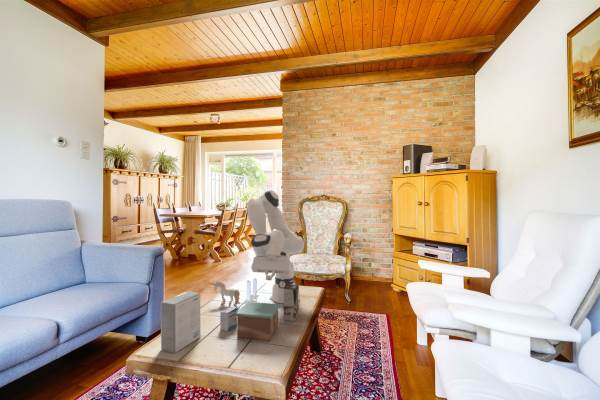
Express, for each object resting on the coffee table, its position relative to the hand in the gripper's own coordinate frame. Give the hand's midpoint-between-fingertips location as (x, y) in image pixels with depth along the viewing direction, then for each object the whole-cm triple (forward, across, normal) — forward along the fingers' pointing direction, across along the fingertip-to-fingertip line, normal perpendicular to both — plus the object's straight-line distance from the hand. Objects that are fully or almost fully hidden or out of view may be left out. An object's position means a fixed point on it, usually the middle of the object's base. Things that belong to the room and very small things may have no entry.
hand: (268, 279), depth 145 cm
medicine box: (+21, -18, +11) cm, 29 cm away
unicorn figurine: (+2, -32, +30) cm, 43 cm away
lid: (+16, -2, +1) cm, 16 cm away
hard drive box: (+34, -32, -2) cm, 46 cm away
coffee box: (+9, +10, +23) cm, 26 cm away
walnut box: (+23, -2, +8) cm, 25 cm away
